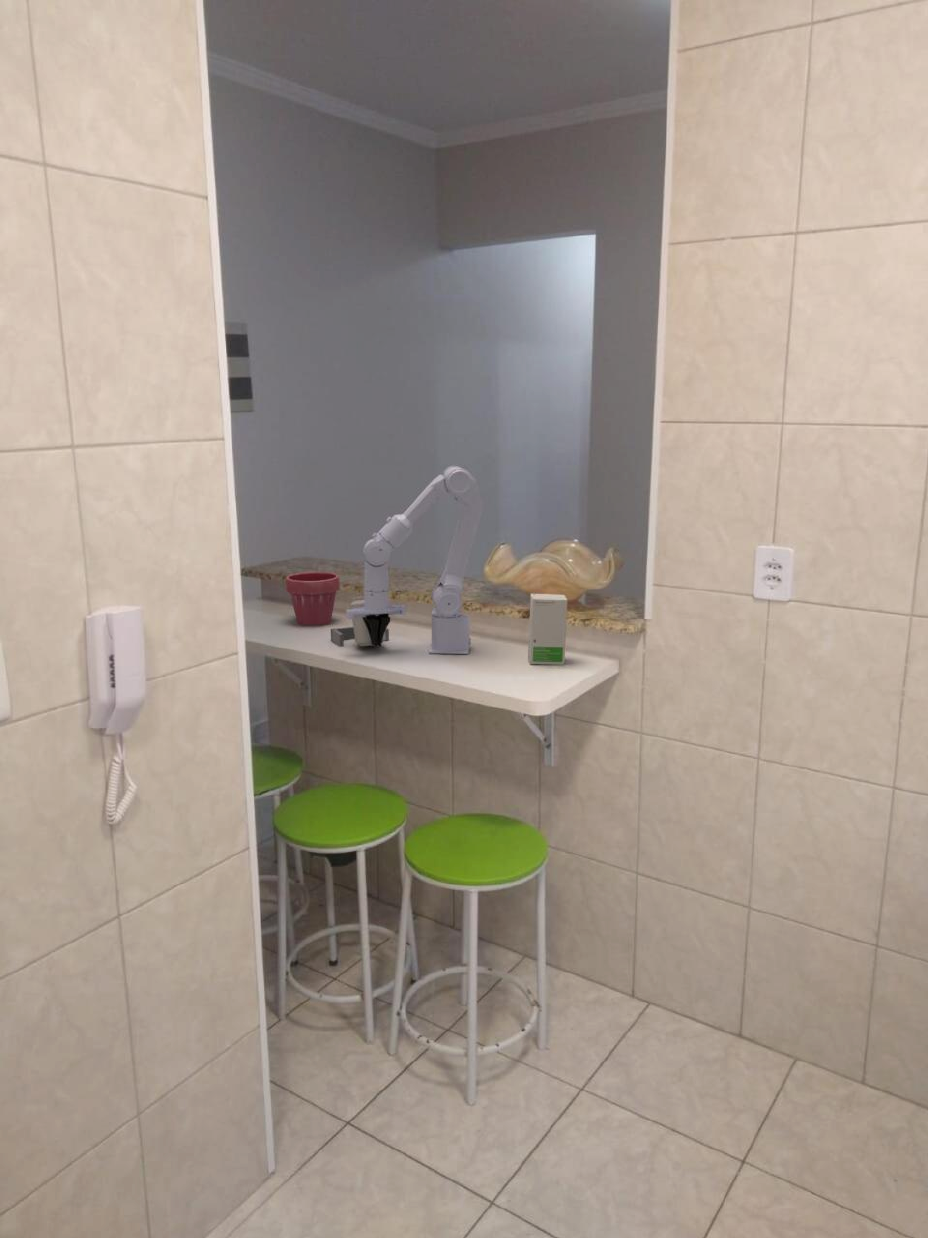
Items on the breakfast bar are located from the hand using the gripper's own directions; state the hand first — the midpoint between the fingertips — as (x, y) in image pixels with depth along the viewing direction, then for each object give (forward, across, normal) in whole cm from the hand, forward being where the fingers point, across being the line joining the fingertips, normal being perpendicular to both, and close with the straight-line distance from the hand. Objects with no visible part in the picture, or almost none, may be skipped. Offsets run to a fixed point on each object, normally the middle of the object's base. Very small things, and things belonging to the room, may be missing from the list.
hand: (376, 645), depth 228 cm
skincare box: (+1, -33, +24) cm, 41 cm away
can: (+1, 0, -4) cm, 5 cm away
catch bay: (+2, -1, -12) cm, 12 cm away
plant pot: (+2, +3, -36) cm, 37 cm away
